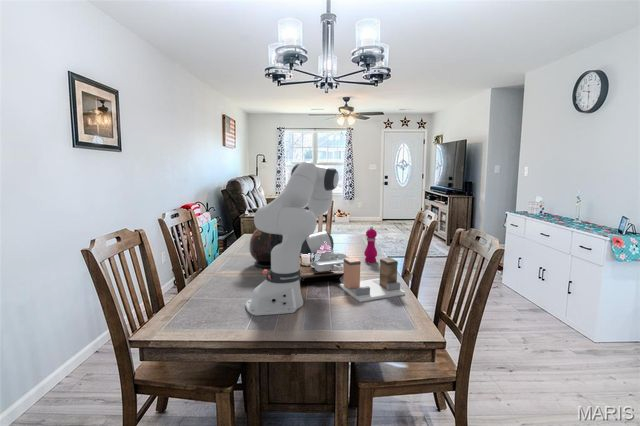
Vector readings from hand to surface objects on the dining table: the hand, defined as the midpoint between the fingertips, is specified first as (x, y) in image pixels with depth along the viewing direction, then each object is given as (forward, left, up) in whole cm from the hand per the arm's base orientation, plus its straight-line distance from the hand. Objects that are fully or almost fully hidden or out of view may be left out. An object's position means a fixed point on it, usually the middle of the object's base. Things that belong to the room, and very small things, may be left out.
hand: (341, 269), depth 166 cm
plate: (+8, -15, -6) cm, 18 cm away
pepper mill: (+30, +25, -7) cm, 40 cm away
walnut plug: (+15, -16, -5) cm, 23 cm away
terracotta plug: (0, -10, -5) cm, 11 cm away
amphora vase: (-25, +38, -7) cm, 46 cm away
